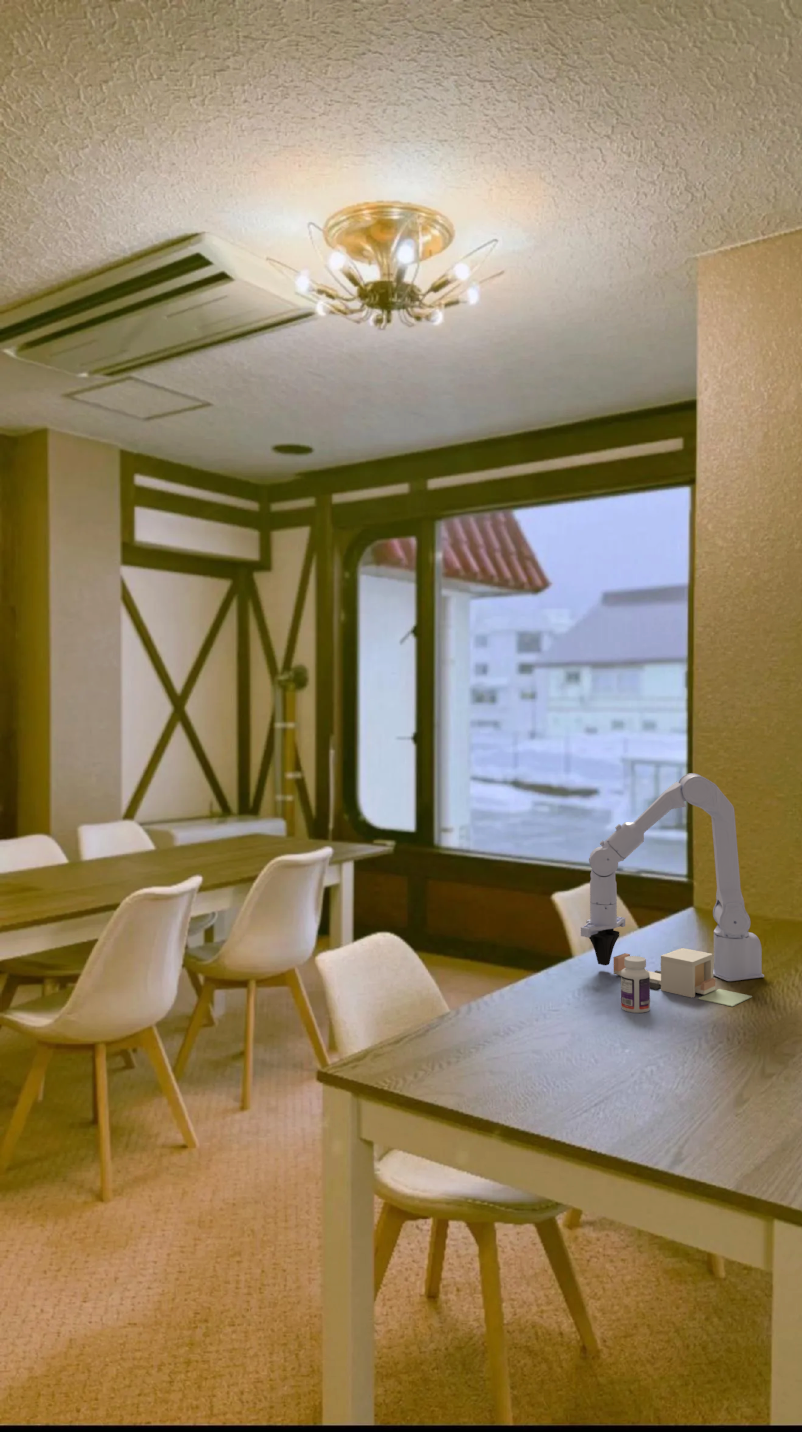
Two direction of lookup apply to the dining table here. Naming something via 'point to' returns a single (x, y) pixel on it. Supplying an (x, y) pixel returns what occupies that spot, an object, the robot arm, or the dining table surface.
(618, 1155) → the dining table surface
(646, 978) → the pill bottle
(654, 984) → the pit tray
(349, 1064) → the dining table surface
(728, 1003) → the pad
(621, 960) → the sled
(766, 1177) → the dining table surface
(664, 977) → the tunnel
